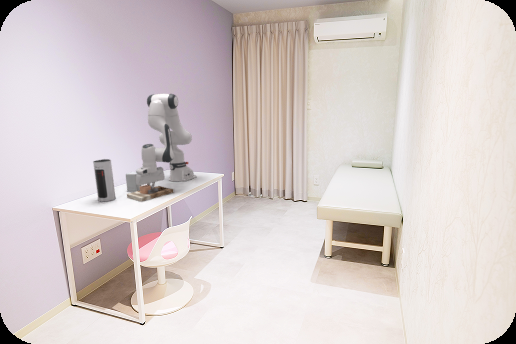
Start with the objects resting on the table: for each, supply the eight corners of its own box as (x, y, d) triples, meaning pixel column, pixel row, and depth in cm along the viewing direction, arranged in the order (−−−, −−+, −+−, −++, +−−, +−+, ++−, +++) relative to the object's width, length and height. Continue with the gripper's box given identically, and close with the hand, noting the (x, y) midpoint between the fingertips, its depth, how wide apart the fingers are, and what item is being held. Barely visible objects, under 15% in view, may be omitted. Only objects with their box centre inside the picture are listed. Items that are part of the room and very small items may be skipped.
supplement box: (136, 192, 227) (134, 174, 224) (127, 191, 228) (125, 174, 226) (142, 189, 234) (140, 172, 231) (132, 188, 235) (131, 171, 233)
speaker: (94, 201, 207) (89, 161, 201) (106, 196, 217) (101, 158, 211) (107, 202, 204) (102, 161, 198) (119, 197, 213) (115, 158, 208)
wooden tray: (159, 189, 233) (158, 182, 232) (173, 192, 224) (172, 185, 222) (127, 197, 214) (126, 190, 213) (141, 201, 204) (140, 194, 203)
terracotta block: (146, 191, 219) (146, 184, 218) (151, 192, 216) (150, 185, 215) (140, 193, 215) (139, 186, 214) (144, 194, 212) (144, 187, 211)
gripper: (160, 165, 225) (161, 185, 228) (133, 170, 209) (135, 191, 212) (165, 166, 222) (167, 186, 225) (139, 172, 206) (141, 193, 209)
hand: (151, 188), depth 218 cm, fingers closed
